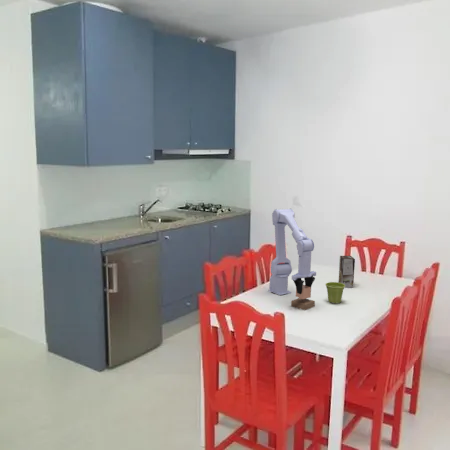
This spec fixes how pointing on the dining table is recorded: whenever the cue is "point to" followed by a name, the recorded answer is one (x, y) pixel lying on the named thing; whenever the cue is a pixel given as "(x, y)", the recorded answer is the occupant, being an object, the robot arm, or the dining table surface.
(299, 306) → the walnut block
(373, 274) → the dining table surface
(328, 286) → the plant pot
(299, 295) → the terracotta cube
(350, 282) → the coffee box
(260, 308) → the dining table surface
